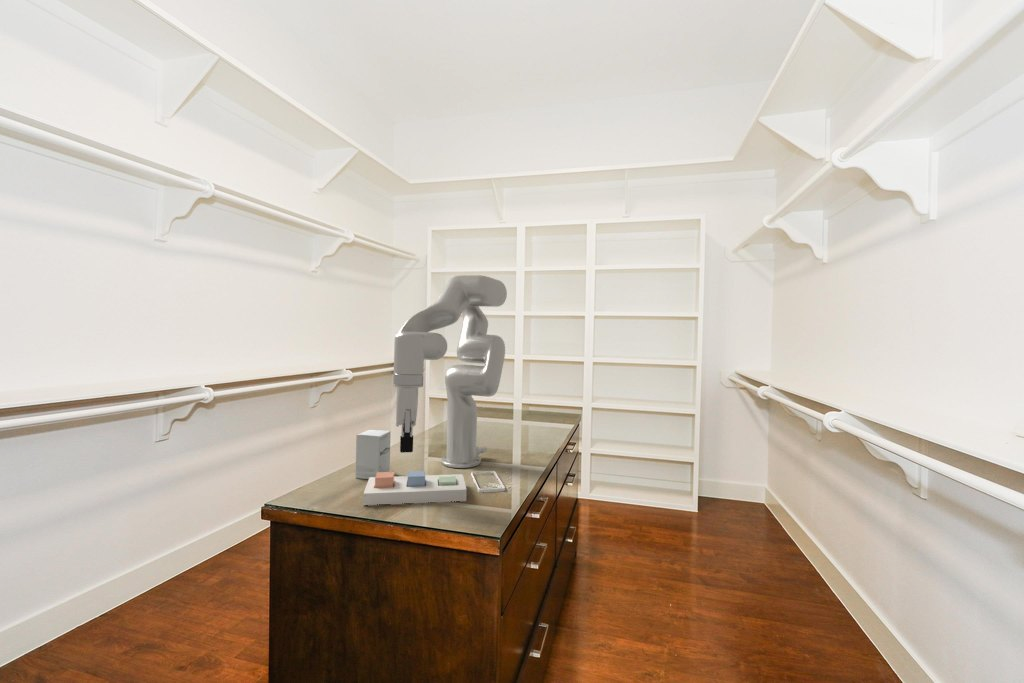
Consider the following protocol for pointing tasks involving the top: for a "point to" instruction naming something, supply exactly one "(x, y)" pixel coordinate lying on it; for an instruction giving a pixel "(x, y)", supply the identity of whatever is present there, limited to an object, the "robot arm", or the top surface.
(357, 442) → the supplement box
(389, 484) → the button terracotta
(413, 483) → the button slate
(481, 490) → the white rectangular frame
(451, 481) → the button sage
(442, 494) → the button panel
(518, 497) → the top surface
